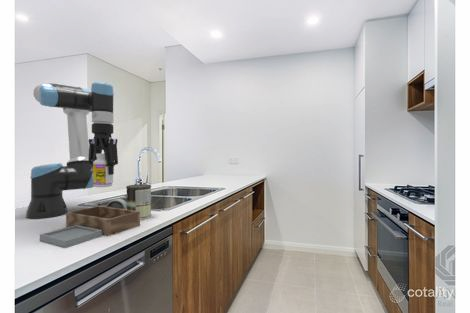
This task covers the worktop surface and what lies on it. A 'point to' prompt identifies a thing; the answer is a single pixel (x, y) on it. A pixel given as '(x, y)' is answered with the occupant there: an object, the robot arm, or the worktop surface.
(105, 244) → the worktop surface
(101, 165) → the supplement bottle
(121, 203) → the ceramic mug
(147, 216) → the coffee can
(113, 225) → the walnut box
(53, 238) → the slate tray
